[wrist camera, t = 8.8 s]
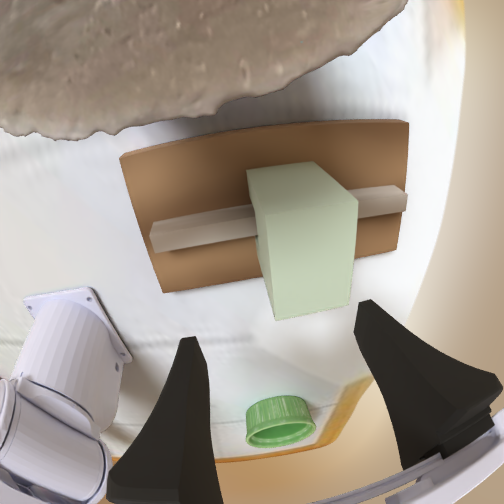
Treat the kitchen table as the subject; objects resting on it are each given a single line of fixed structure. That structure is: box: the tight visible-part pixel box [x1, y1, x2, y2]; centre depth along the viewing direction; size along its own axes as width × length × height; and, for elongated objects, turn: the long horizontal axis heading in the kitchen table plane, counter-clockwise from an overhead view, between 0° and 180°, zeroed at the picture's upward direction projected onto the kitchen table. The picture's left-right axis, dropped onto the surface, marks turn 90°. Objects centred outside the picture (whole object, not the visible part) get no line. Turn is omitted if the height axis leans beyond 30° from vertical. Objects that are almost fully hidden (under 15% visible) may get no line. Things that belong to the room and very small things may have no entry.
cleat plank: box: [119, 119, 409, 293], centre depth 18 cm, size 10×18×3 cm, turn 97°
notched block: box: [246, 161, 358, 321], centre depth 16 cm, size 6×4×6 cm, turn 7°
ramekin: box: [246, 396, 316, 448], centre depth 33 cm, size 9×9×4 cm
